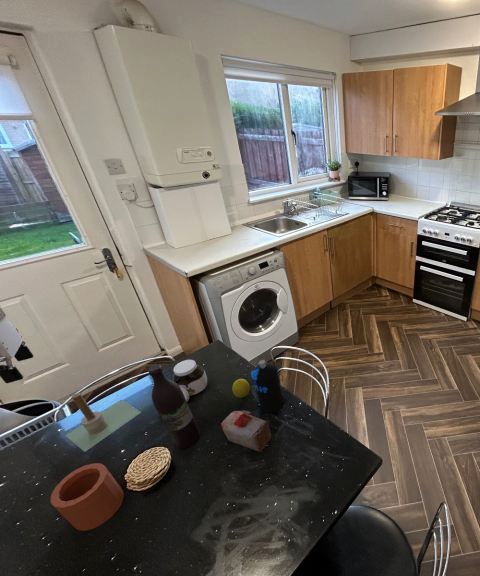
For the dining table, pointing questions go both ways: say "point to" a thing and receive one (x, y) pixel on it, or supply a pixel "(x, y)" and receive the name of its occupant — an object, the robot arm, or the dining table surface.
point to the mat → (114, 419)
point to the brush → (90, 416)
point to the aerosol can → (268, 387)
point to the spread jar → (190, 378)
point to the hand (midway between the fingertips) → (20, 369)
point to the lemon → (241, 388)
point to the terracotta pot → (88, 496)
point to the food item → (246, 430)
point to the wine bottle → (173, 409)
